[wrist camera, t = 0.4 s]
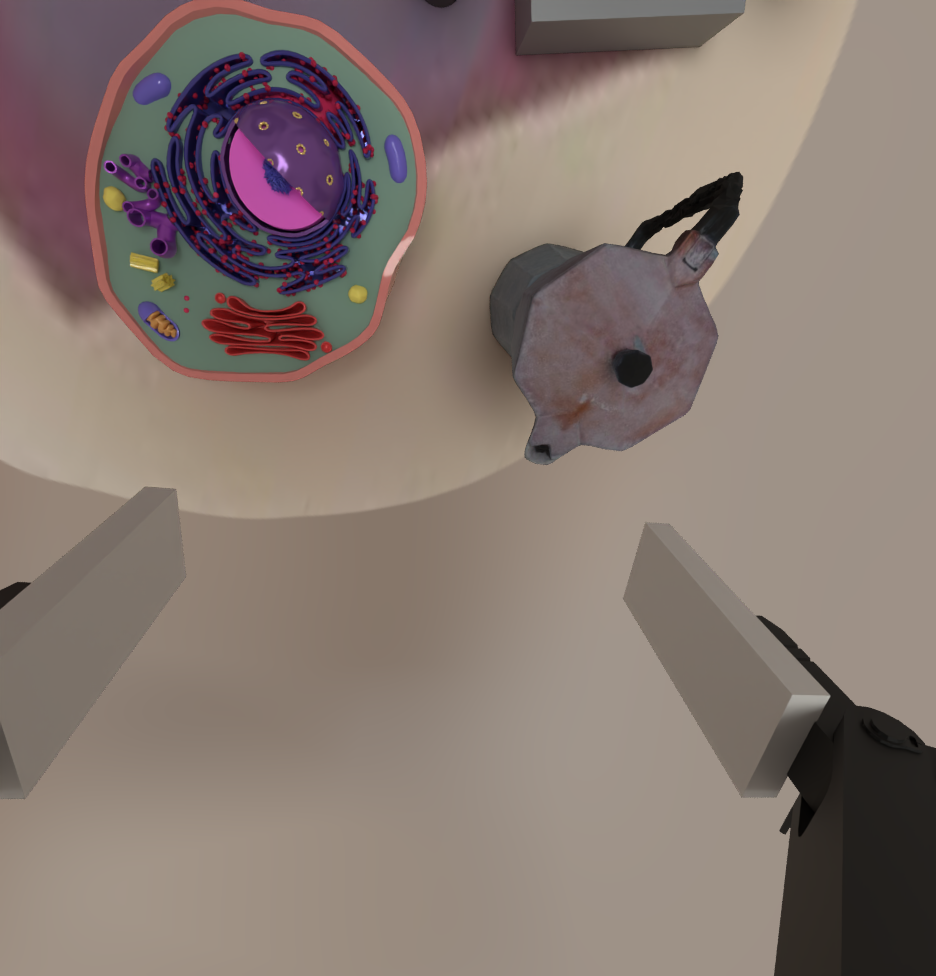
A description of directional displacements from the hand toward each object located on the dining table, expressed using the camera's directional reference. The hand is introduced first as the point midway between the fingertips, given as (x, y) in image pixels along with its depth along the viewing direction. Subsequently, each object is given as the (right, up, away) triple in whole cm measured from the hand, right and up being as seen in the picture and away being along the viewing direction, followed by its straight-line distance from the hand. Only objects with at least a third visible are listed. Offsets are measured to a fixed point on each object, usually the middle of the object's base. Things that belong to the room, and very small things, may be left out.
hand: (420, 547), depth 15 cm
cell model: (-11, +20, +21) cm, 31 cm away
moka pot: (+7, +16, +24) cm, 30 cm away
